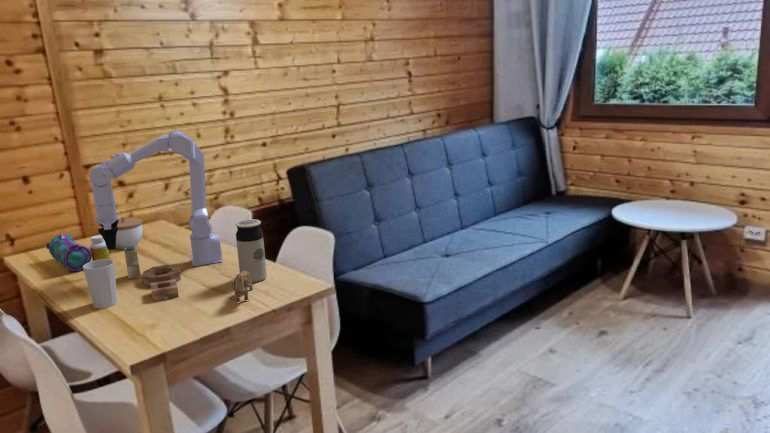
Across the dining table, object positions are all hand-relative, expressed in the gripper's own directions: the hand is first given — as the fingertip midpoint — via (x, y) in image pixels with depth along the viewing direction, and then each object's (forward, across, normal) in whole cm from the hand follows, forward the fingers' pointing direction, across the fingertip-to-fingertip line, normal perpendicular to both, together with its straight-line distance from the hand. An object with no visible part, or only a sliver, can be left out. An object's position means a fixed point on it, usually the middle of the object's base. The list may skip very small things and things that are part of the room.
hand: (112, 245), depth 190 cm
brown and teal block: (+10, +4, +5) cm, 12 cm away
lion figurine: (+10, +37, +34) cm, 52 cm away
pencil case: (+10, -19, -14) cm, 26 cm away
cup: (+10, +24, -3) cm, 26 cm away
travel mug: (+10, +23, +39) cm, 47 cm away
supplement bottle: (+10, -14, -5) cm, 18 cm away
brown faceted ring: (+10, +12, +13) cm, 20 cm away
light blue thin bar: (+10, +23, +13) cm, 28 cm away
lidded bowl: (+10, -32, +3) cm, 34 cm away
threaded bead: (+10, +24, +13) cm, 30 cm away
